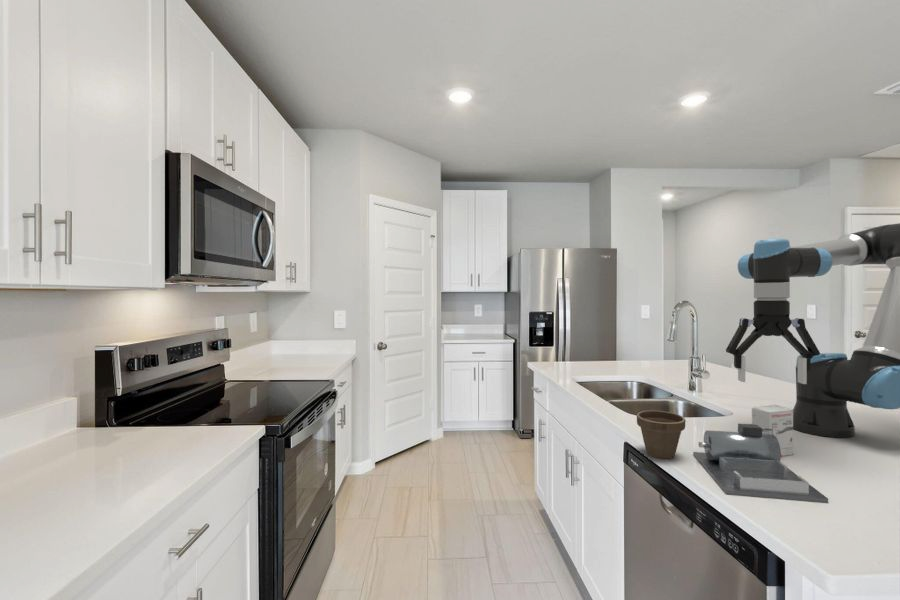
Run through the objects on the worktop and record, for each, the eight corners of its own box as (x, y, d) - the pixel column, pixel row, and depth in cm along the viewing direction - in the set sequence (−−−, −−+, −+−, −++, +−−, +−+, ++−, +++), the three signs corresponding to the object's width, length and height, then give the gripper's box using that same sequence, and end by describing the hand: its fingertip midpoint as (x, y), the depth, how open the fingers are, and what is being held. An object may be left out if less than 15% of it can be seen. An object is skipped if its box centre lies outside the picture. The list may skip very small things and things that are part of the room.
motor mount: (773, 460, 110) (773, 421, 110) (828, 502, 88) (828, 454, 88) (693, 455, 114) (693, 417, 114) (726, 494, 92) (725, 447, 92)
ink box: (768, 458, 111) (768, 411, 111) (750, 452, 116) (750, 406, 116) (794, 454, 114) (794, 408, 114) (775, 448, 119) (775, 404, 118)
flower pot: (683, 466, 107) (683, 424, 107) (633, 457, 113) (633, 418, 113) (687, 451, 117) (687, 413, 117) (640, 444, 123) (640, 408, 123)
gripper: (819, 299, 115) (819, 381, 116) (712, 299, 121) (712, 377, 121) (837, 299, 108) (837, 386, 108) (722, 300, 114) (722, 382, 114)
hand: (771, 382), depth 115 cm, fingers open, 13 cm apart
